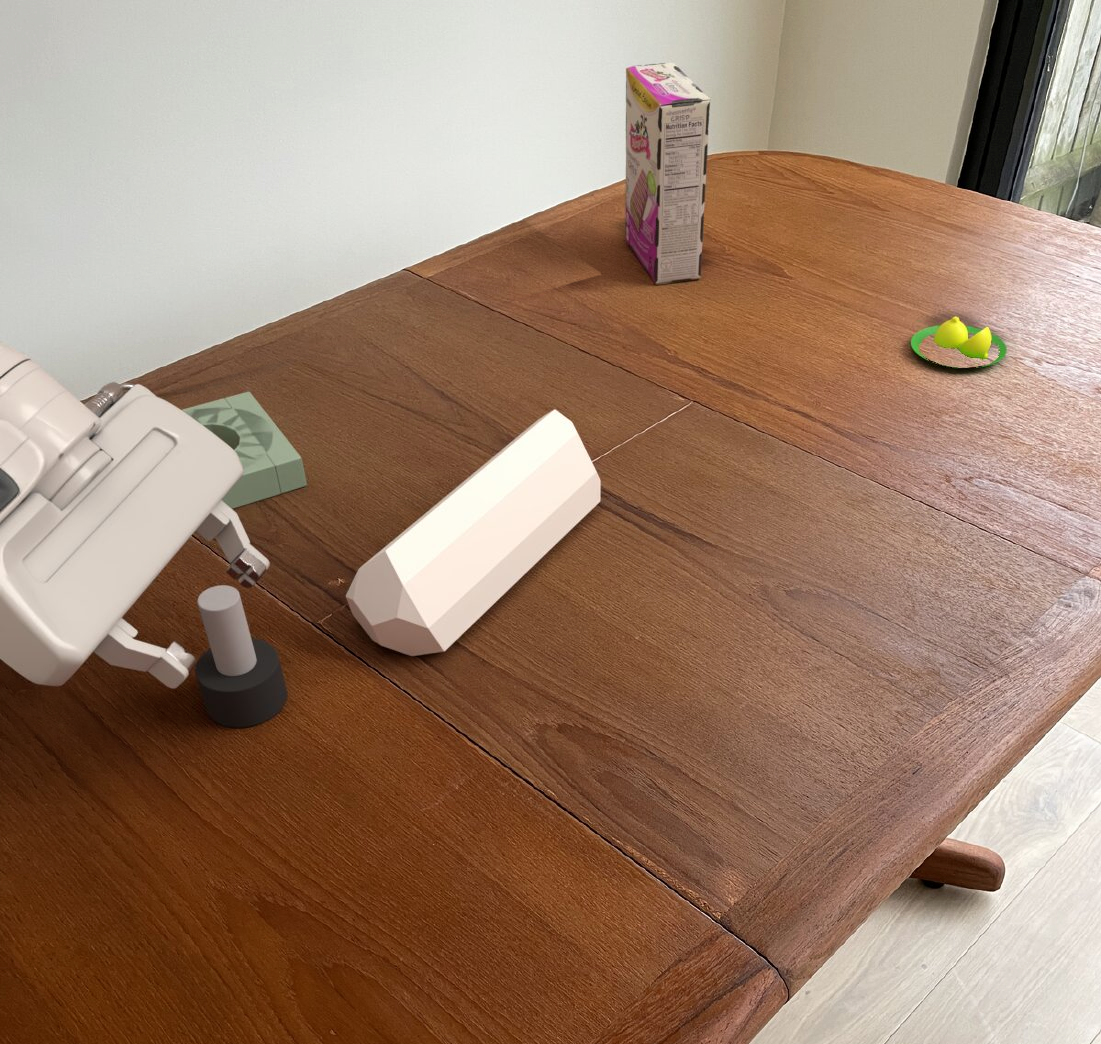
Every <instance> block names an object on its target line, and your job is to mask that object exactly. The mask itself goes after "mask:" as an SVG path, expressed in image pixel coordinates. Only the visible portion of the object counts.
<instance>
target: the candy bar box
mask: <svg viewBox="0 0 1101 1044" xmlns="http://www.w3.org/2000/svg"><path fill="white" fill-rule="evenodd" d="M625 74H626V75H625V211H624V213H625V220H624V222H625V223H624V225H625V227H624V241H625V243H626V244H627V245H628V247H629V246H630V247H629V248H630V250H631V251H632V252H633V254H634V255H635V256H636V258H637V260H638V261H639V262H640V263H641V265H642V266H643V268H644V269H645V271H646V272H647V274H648V275H649V277H650V278H651V279H652V282H653V283H654V284H655V285H668V284H674V283H675V284H676V283H682V282H687V281H688V282H689V281H695V280H700V279H701V278H702V262H703V261H702V260H703V245H704V243H703V242H704V226H705V225H704V224H705V223H704V222H705V206H706V205H705V204H706V183H707V168H708V167H707V166H708V152H709V151H708V150H709V146H708V145H709V125H710V123H709V122H710V108H711V98H710V97H709V96H708V95H707V94H706V93H705V92H704V91H703V90H702V89H700V87H699V86H698V85H697V84H696V83H695V82H694V81H692V79H690V77H689V76H687V75H686V73H685V72H684V71H683V70H681V68H680V67H679V66H678V65H676V63H675V62H663V63H660V62H659V63H650V64H649V63H648V64H645V65H641V64H637V65H632V66H628V67H626V68H625Z"/></svg>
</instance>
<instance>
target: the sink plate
mask: <svg viewBox="0 0 1101 1044" xmlns="http://www.w3.org/2000/svg"><path fill="white" fill-rule="evenodd" d="M181 410H182V411H183V412H185V413H186V414H187V415H189V416H190V417H192V418H193V419H195V420H196V421H197V422H199V423H200V424H202V425H203V426H204V427H206V428H207V429H208V430H210V431H211V432H212V433H214V434H215V435H216V436H217V437H219V438H220V439H221V440H222V441H224V442H225V443H226V444H227V445H229V446H230V447H231V448H232V449H233V450H234V451H235V452H236V453H237V455H238V457H239V459H240V461H241V464H242V466H243V469H244V473H243V475H242V476H241V477H240V479H239V480H238V481H237V482H236V483H235V485H234V486H233V487H232V488H231V489H230V490H229V492H228V493H227V494H226V495H225V496H224V498H223V499H222V501H223V502H224V503H225V504H227V505H228V506H229V507H230V508H231V509H232V510H234V509H236V508H240V507H243V506H246V505H249V504H250V505H251V504H252V503H255V502H259V501H262V500H266V499H269V498H272V497H275V496H279V495H281V494H284V493H288V492H291V491H294V490H298V489H300V488H301V489H302V488H305V487H307V486H308V483H307V482H308V481H307V477H306V472H305V467H304V463H303V458H302V456H301V455H300V453H298V451H297V450H296V448H295V447H294V446H293V445H292V444H291V442H290V440H288V438H287V437H286V436H285V435H284V433H283V432H282V431H281V430H280V429H279V427H278V426H277V425H276V423H275V422H274V420H272V418H271V417H270V415H269V414H268V413H267V412H266V410H265V409H264V408H263V407H262V405H261V404H260V403H259V401H258V400H257V399H256V397H255V396H254V395H253V394H252V392H251V391H249V390H248V391H245V392H242V393H237V394H234V395H231V396H227V397H225V398H223V397H222V398H219V399H216V400H215V399H214V400H212V401H208V402H205V403H201V404H197V405H194V406H190V407H186V408H183V409H181Z"/></svg>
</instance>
